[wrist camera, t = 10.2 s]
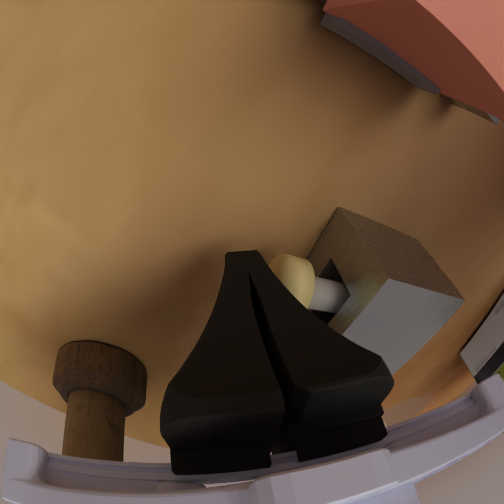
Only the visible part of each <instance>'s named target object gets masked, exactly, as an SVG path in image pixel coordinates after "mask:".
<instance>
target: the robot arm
mask: <svg viewBox="0 0 504 504" xmlns="http://www.w3.org/2000/svg"><path fill="white" fill-rule="evenodd" d="M393 386H394V379H393V377H392V375H391V373H390V371H389V369H388V367H387V365H386V364H385V362H384V360H383V359H382V357H381V356H380V355H378V354H376V353H374V352H372V351H370V350H368V349H366V348H364V347H362V346H360V345H358V344H356V343H354V342H352V341H351V340H349V339H347V338H346V337H344V336H342V335H341V334H339V333H338V332H336V331H335V330H334V329H332V328H331V327H329V326H328V325H326V324H325V323H324V322H322V321H321V320H320V319H319V318H317V317H316V316H315V315H314V314H313V313H311V312H310V311H309V310H308V309H307V308H306V307H305V306H304V305H303V304H301V303H300V302H299V301H298V300H297V299H296V298H295V297H294V295H293V294H292V293H291V292H290V291H289V290H288V289H287V288H286V287H285V286H284V285H283V283H282V282H281V281H280V280H279V279H278V277H277V276H276V275H275V274H274V273H273V271H272V270H271V269H270V267H269V266H268V265H267V263H266V262H265V260H264V259H263V257H262V256H261V254H260V253H259V252H258V251H257V250H252V251H237V252H227V253H226V254H225V269H224V275H223V279H222V283H221V287H220V291H219V294H218V297H217V300H216V303H215V306H214V308H213V311H212V313H211V316H210V318H209V320H208V322H207V325H206V327H205V329H204V331H203V332H202V334H201V336H200V338H199V340H198V342H197V344H196V345H195V347H194V349H193V350H192V352H191V353H190V355H189V356H188V358H187V360H186V361H185V363H184V364H183V366H182V367H181V368H180V370H179V371H178V372H177V374H176V375H175V376H174V377H173V379H172V380H171V381H170V383H169V384H168V386H167V389H166V392H165V395H164V399H163V402H162V407H161V413H160V432H161V436H162V437H163V439H164V440H165V441H166V443H167V444H168V446H169V447H170V454H171V463H137V462H119V461H107V460H96V459H88V458H80V457H72V456H66V455H60V454H53V453H48V452H47V451H46V450H45V449H43V448H42V447H40V446H38V445H36V444H34V443H30V442H26V441H21V440H17V439H13V438H9V439H8V442H7V448H6V456H5V463H4V472H3V482H2V494H1V496H2V498H3V499H4V500H7V501H9V502H11V503H14V504H420V501H419V498H418V495H417V492H416V489H415V487H414V483H417V482H419V481H421V480H423V479H425V478H427V477H429V476H431V475H433V474H435V473H437V472H439V471H441V470H443V469H445V468H447V467H448V466H450V465H452V464H454V463H456V462H457V461H459V460H461V459H463V458H464V457H466V456H468V455H469V454H471V453H473V452H474V451H476V450H477V449H479V448H481V447H482V446H484V445H485V444H487V443H488V442H490V441H491V440H493V439H494V438H496V437H497V436H498V435H499V434H501V433H502V432H504V382H503V380H502V378H501V377H500V375H499V374H498V373H497V374H495V375H493V376H491V377H489V378H487V379H485V380H483V381H482V382H480V383H479V384H478V385H477V386H476V387H475V388H474V389H473V390H472V391H471V393H469V394H467V395H465V396H463V397H461V398H459V399H457V400H454V401H452V402H450V403H448V404H445V405H443V406H441V407H439V408H436V409H434V410H431V411H429V412H426V413H424V414H421V415H419V416H416V417H414V418H411V419H408V420H406V421H403V422H400V423H397V424H395V425H392V426H389V427H385V425H384V422H383V420H382V417H381V416H382V415H383V414H384V411H383V409H382V406H381V403H382V402H383V400H384V399H385V398H386V397H387V395H388V394H389V393H390V391H391V389H392V388H393ZM271 452H272V455H270V453H271ZM254 479H256V480H255V481H250V482H244V483H239V484H232V485H225V486H218V487H209V488H206V486H204V485H203V484H214V483H227V482H238V481H247V480H254Z"/></svg>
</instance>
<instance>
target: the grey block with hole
mask: <svg viewBox="0 0 504 504" xmlns="http://www.w3.org/2000/svg"><path fill="white" fill-rule="evenodd" d="M307 260H308V261H309V262H310V263H311V265H312V267H313V269H314V275H315V276H316V277H320V278H324V279H328V280H333V281H337V282H341V283H345V285H346V287H347V289H348V291H349V293H350V295H351V296H350V297H349V298H348V299H347V301H346V302H345V303H344V305H343V306H342V307H341V308H340V310H339V311H338V312H337V313H331V312H325V311H319V310H314V309H308V310H309V311H310V312H311V313H313V314H314V315H315V316H316V317H317V318H319V319H320V320H321V321H322V322H324V323H325V324H326V325H328V326H329V327H331V328H332V329H334V330H335V331H336V332H338V333H339V334H341V335H342V336H344V337H346V338H347V339H349V340H351V341H352V342H354V343H356V344H358V345H360V346H362V347H364V348H366V349H368V350H370V351H372V352H374V353H376V354H378V355H380V356H381V357H382V359H383V360H384V362H385V364H386V365H387V367H388V369H389V371H390V373H391V375H393V374H394V373H395V372H397V371H398V370H399V369H400V368H401V367H402V366H403V365H404V364H405V363H406V362H407V361H408V360H410V359H411V358H412V357H413V356H414V355H415V354H416V353H417V352H418V351H419V350H420V349H421V348H422V347H423V346H424V345H425V344H426V343H427V342H428V341H429V340H430V339H431V338H432V337H433V336H434V335H435V334H436V333H437V332H438V331H439V329H440V328H441V327H442V326H443V325H444V324H445V323H446V322H447V321H448V320H449V319H450V318H451V316H452V315H453V314H454V313H455V312H456V311H457V310H458V309H459V307H460V306H461V305H462V304H463V303H464V302H465V299H464V298H463V296H462V295H461V294H460V292H459V291H458V290H457V288H456V287H455V286H454V284H453V283H452V282H451V281H450V279H449V278H448V277H447V275H446V274H445V273H444V272H443V270H442V269H441V268H440V267H439V265H438V264H437V263H436V262H435V261H434V259H433V258H432V257H431V256H430V254H429V253H428V252H427V251H426V250H425V249H424V247H423V246H422V245H421V244H420V243H419V241H418V240H416V239H414V238H412V237H410V236H407V235H405V234H403V233H400V232H398V231H396V230H394V229H391V228H389V227H386V226H384V225H382V224H379V223H377V222H375V221H372V220H370V219H367V218H365V217H363V216H360V215H358V214H355V213H353V212H350V211H348V210H345V209H343V208H340V207H338V208H337V210H336V212H335V213H334V215H333V217H332V218H331V220H330V222H329V223H328V225H327V226H326V228H325V230H324V231H323V233H322V235H321V236H320V238H319V240H318V241H317V243H316V244H315V246H314V248H313V249H312V251H311V253H310V254H309V256H308V257H307Z"/></svg>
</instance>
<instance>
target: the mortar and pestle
mask: <svg viewBox="0 0 504 504" xmlns="http://www.w3.org/2000/svg"><path fill="white" fill-rule="evenodd" d="M53 385H54V387H55V389H56V390H57V391H58V392H59V393H60V395H61V397H62V398H63V399H64V401H65V402H66V403H68V406H67V413H66V421H65V430H64V440H63V449H62V455H66V456H72V457H80V458H88V459H96V460H107V461H119V462H123V450H124V427H125V417H127V416H130V415H131V414H133V413H134V412H135V411H138V410H139V409H141V408H142V407H143V406H144V404H145V400H146V386H147V373H146V370H145V368H144V366H143V365H142V364H141V362H140V361H139V360H138V359H136V358H135V357H134V356H132V355H130V354H129V353H127V352H125V351H123V350H121V349H119V348H115V347H111V346H108V345H106V344H103V343H98V342H90V341H79V342H73V343H69V344H66V345H65V346H63V347H62V348H61V349H60V351H59V353H58V356H57V360H56V364H55V369H54V374H53Z"/></svg>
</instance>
